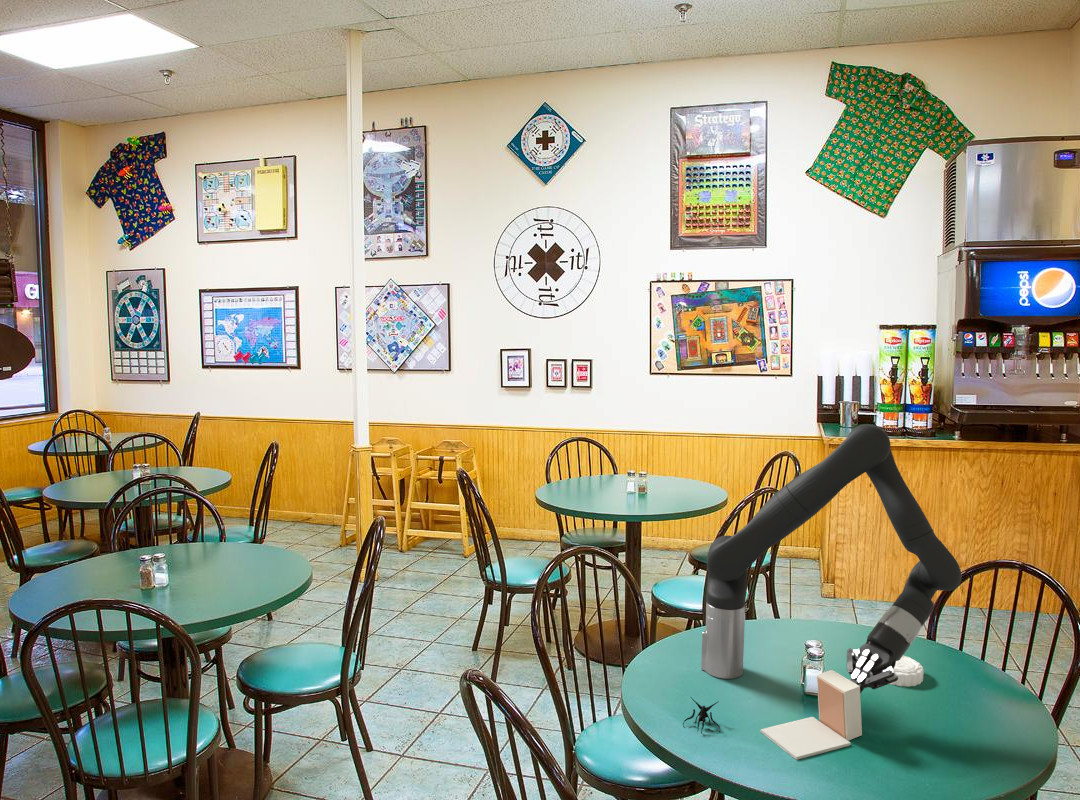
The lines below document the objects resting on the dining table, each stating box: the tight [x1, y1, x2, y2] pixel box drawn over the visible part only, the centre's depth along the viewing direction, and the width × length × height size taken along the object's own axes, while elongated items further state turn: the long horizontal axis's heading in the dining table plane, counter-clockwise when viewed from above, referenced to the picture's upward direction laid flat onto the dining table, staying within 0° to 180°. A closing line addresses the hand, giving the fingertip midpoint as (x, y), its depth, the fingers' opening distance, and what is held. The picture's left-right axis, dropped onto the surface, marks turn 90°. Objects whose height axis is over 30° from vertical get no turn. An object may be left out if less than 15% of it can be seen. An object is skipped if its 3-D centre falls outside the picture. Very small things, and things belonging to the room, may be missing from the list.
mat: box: [760, 716, 851, 761], centre depth 160 cm, size 11×14×1 cm
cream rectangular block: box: [816, 669, 863, 742], centre depth 163 cm, size 8×4×11 cm, turn 22°
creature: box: [682, 697, 721, 735], centre depth 164 cm, size 8×5×8 cm
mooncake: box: [871, 655, 924, 687], centre depth 189 cm, size 12×12×4 cm
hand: (847, 697), depth 164 cm, fingers closed
